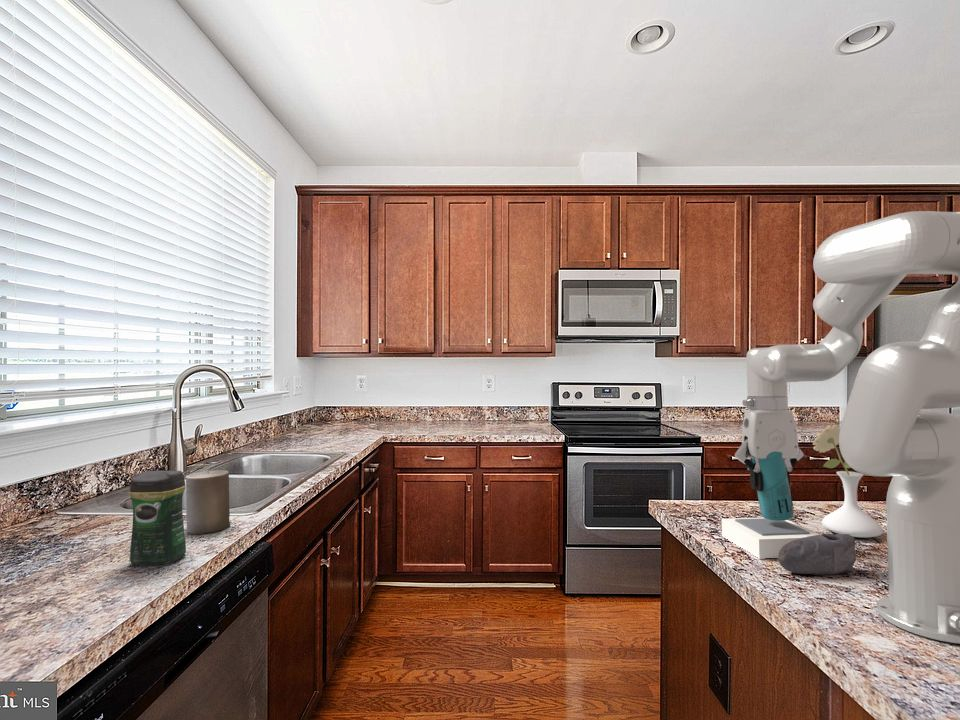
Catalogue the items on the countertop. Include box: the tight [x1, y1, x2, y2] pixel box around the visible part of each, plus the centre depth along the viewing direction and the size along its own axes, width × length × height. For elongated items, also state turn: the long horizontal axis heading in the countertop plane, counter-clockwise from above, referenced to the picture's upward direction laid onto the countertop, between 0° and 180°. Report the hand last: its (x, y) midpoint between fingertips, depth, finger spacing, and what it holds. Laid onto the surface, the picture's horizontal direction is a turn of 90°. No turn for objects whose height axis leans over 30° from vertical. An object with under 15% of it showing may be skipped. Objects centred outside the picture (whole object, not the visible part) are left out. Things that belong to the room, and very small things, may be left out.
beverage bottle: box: [751, 451, 795, 521], centre depth 107 cm, size 6×7×20 cm
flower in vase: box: [812, 424, 884, 539], centre depth 114 cm, size 13×11×25 cm
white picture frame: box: [721, 516, 822, 560], centre depth 107 cm, size 14×14×4 cm
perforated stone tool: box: [777, 533, 857, 576], centre depth 93 cm, size 15×5×7 cm, turn 91°
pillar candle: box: [185, 468, 231, 535], centre depth 126 cm, size 10×10×15 cm
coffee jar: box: [129, 470, 187, 566], centre depth 105 cm, size 10×8×19 cm
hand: (770, 488), depth 107 cm, fingers closed on beverage bottle, 5 cm apart
